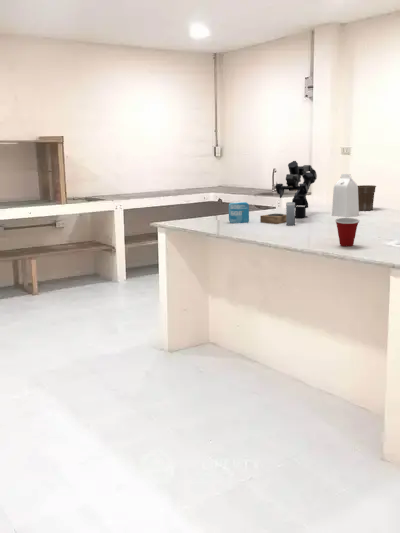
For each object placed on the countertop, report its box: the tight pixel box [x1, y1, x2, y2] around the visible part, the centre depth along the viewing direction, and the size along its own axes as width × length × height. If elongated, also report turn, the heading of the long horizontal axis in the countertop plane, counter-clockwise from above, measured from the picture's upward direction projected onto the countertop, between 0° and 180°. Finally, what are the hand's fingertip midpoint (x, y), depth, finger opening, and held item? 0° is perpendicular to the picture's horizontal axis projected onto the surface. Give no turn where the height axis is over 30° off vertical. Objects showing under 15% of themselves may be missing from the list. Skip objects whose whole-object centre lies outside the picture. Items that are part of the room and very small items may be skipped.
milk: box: [331, 173, 360, 218], centre depth 357 cm, size 12×12×26 cm
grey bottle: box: [285, 201, 296, 227], centre depth 327 cm, size 5×5×13 cm
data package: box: [228, 201, 250, 224], centre depth 346 cm, size 12×4×12 cm, turn 92°
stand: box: [259, 213, 286, 225], centre depth 343 cm, size 13×13×4 cm
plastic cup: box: [334, 217, 360, 247], centre depth 258 cm, size 11×11×12 cm
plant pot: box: [357, 184, 377, 212], centre depth 382 cm, size 16×16×16 cm
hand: (287, 197), depth 334 cm, fingers open, 9 cm apart
